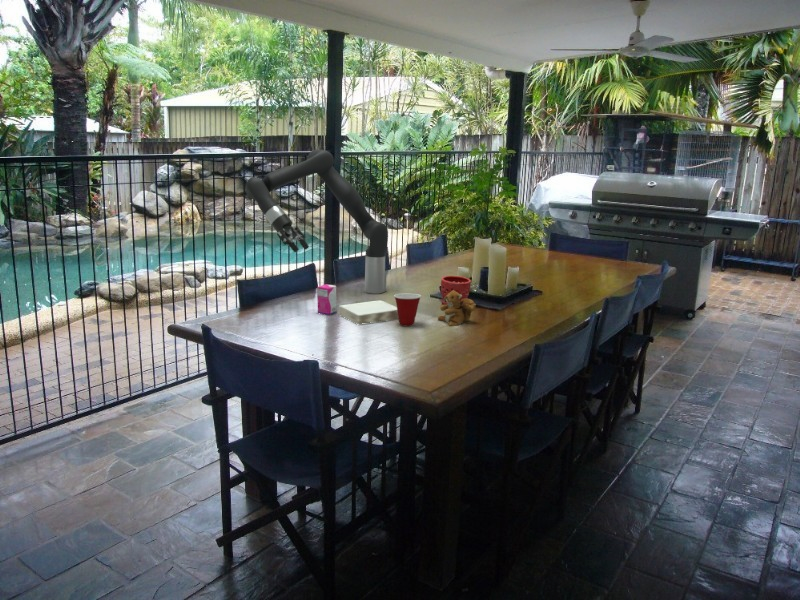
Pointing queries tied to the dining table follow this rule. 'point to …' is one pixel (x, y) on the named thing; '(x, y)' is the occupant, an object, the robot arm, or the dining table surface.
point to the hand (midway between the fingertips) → (302, 249)
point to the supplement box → (326, 299)
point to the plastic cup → (407, 307)
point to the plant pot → (455, 286)
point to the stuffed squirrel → (456, 309)
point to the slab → (369, 312)
